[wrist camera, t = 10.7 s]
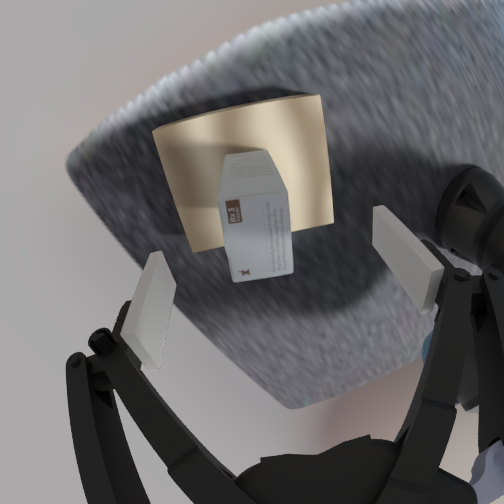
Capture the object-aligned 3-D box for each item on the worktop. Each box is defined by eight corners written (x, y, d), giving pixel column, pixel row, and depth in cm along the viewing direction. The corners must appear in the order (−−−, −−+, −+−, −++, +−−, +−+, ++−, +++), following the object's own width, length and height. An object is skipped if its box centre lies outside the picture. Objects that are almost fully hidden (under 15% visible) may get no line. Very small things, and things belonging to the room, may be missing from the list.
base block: (308, 93, 26) (319, 95, 23) (323, 207, 34) (333, 223, 31) (161, 125, 27) (151, 131, 24) (196, 235, 35) (192, 253, 31)
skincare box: (273, 203, 29) (300, 277, 19) (230, 210, 29) (232, 287, 19) (267, 145, 25) (296, 190, 15) (220, 152, 25) (215, 201, 15)
